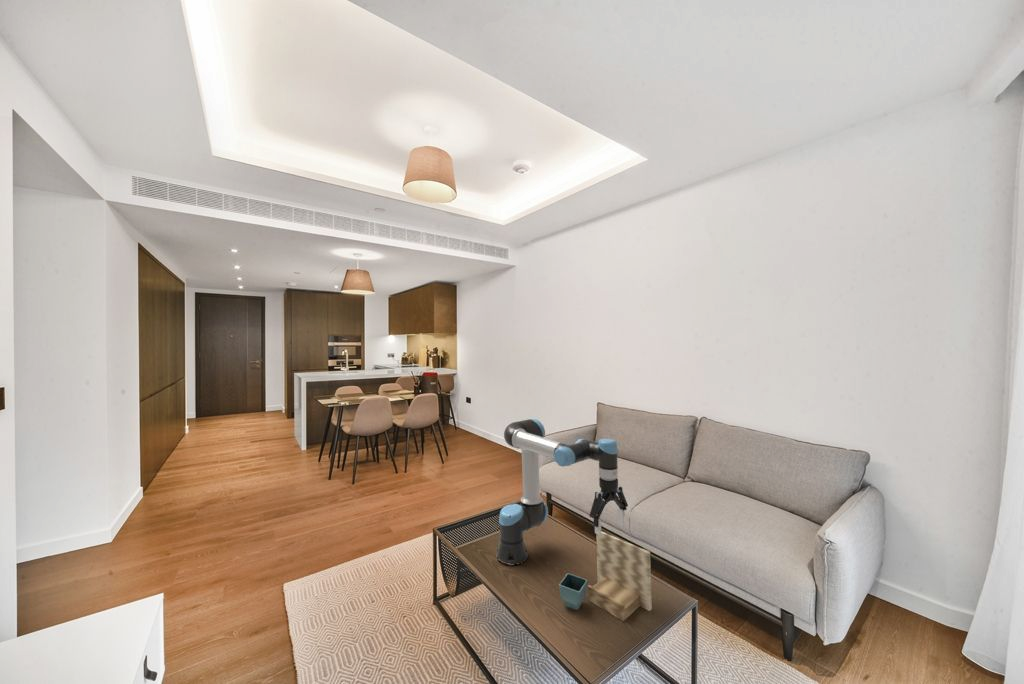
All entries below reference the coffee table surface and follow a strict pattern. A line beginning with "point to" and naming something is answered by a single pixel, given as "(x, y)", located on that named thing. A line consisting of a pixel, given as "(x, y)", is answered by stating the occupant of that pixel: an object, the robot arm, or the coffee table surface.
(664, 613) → the coffee table surface
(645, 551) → the board
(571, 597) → the flower pot
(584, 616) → the coffee table surface
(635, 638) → the coffee table surface
